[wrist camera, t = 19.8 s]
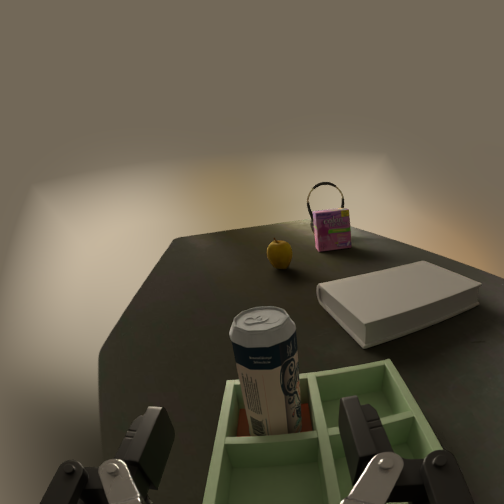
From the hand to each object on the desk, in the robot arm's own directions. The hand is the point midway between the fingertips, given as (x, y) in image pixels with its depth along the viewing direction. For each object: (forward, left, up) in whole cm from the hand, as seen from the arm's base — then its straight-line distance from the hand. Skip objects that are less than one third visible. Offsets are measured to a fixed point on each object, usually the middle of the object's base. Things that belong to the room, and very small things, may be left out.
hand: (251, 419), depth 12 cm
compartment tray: (+4, +6, -12) cm, 14 cm away
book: (+22, +34, -12) cm, 42 cm away
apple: (+3, +64, -12) cm, 65 cm away
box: (+20, +79, -12) cm, 82 cm away
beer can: (0, +9, -12) cm, 15 cm away
